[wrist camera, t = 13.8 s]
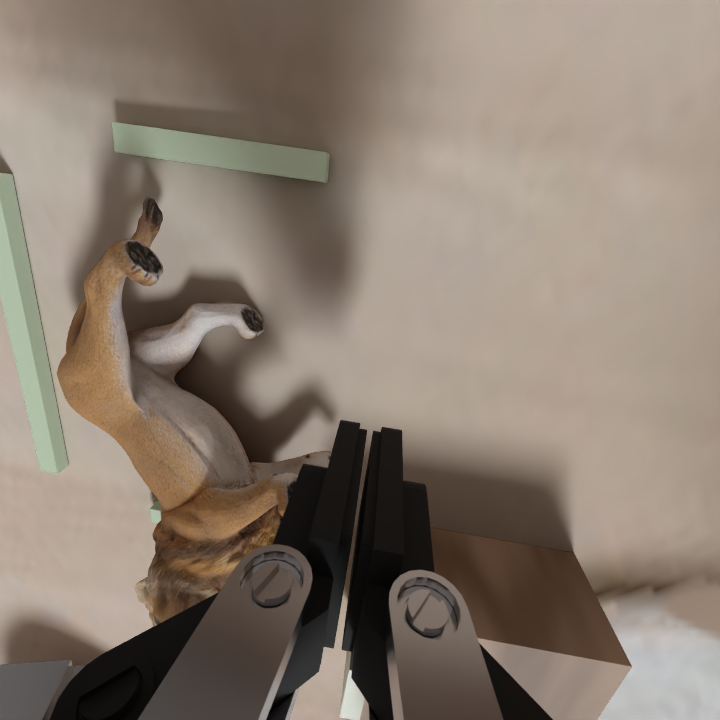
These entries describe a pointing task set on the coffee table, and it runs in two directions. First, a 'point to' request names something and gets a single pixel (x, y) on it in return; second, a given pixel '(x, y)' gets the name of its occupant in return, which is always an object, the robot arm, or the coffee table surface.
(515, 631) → the walnut block
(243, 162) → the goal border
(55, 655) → the coffee table surface
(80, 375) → the lion figurine
